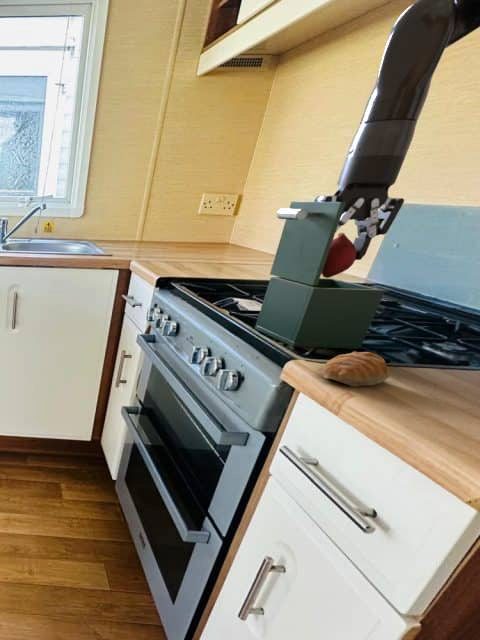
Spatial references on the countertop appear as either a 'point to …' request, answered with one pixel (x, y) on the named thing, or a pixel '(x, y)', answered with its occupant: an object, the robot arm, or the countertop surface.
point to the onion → (339, 256)
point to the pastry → (357, 369)
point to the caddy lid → (306, 240)
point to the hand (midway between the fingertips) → (337, 258)
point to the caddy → (318, 312)
